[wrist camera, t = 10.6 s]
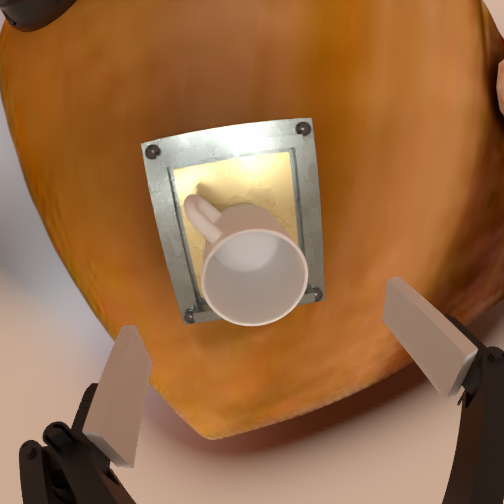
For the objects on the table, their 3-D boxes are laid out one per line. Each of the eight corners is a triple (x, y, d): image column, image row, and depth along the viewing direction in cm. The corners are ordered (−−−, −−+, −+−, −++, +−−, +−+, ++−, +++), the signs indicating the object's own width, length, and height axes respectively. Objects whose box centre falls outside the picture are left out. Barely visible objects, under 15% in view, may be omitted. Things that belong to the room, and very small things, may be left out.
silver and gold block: (151, 144, 31) (134, 143, 24) (298, 121, 32) (319, 115, 25) (187, 304, 39) (182, 336, 32) (313, 282, 40) (331, 310, 33)
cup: (242, 287, 33) (252, 342, 23) (165, 216, 29) (140, 249, 20) (296, 239, 32) (328, 279, 22) (220, 160, 28) (221, 165, 18)
